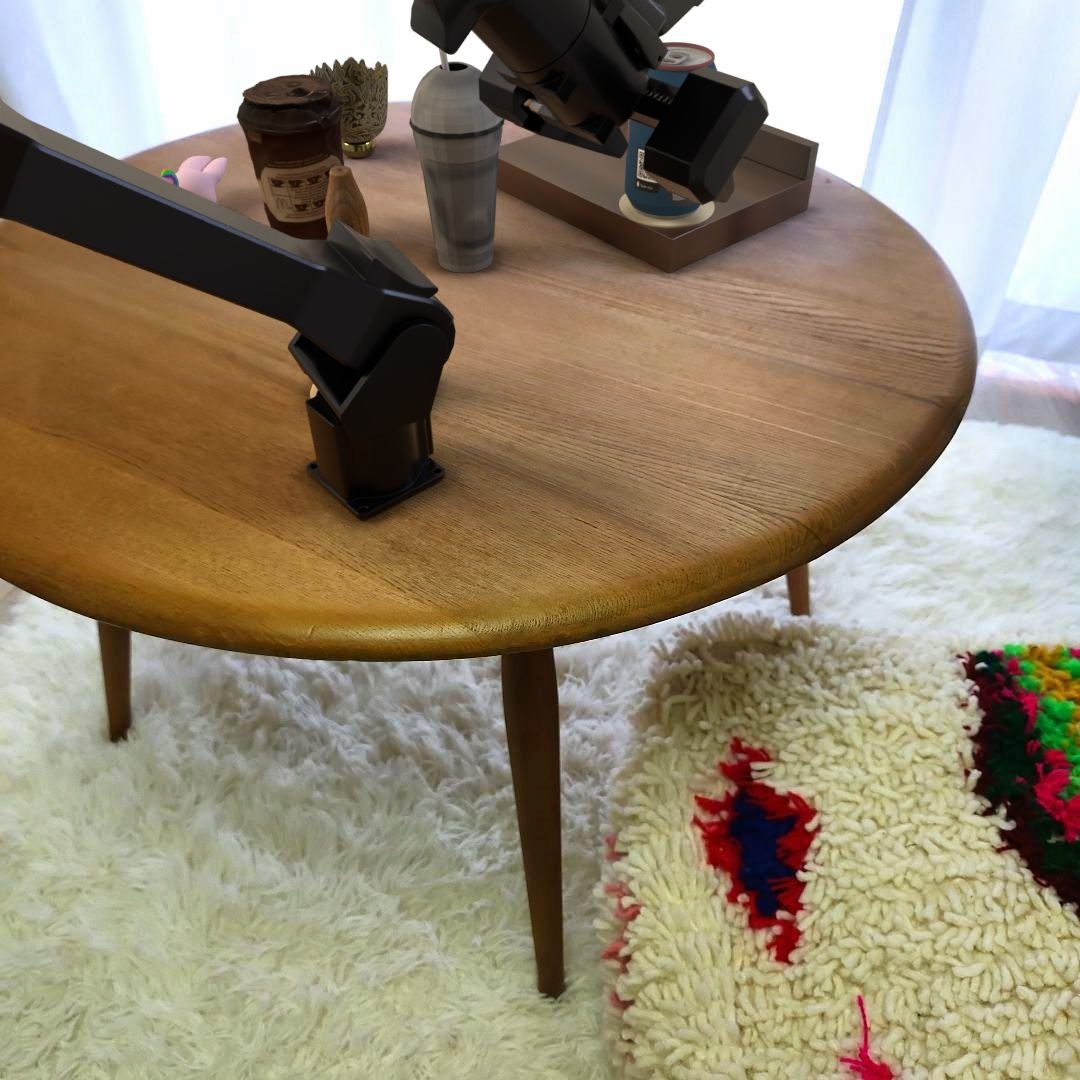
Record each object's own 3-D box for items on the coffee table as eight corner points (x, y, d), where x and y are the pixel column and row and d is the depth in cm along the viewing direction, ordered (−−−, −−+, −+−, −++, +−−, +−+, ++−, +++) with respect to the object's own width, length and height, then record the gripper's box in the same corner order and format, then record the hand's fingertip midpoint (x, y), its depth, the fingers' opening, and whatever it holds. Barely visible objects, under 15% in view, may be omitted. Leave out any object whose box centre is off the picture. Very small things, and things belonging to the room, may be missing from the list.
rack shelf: (669, 273, 84) (675, 203, 80) (485, 182, 97) (482, 118, 93) (807, 209, 93) (819, 143, 88) (621, 134, 106) (624, 73, 102)
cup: (411, 148, 103) (403, 64, 98) (364, 173, 99) (353, 88, 94) (354, 133, 106) (343, 52, 101) (306, 157, 102) (292, 73, 96)
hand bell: (454, 393, 71) (438, 168, 61) (357, 443, 67) (320, 210, 56) (382, 347, 76) (355, 129, 65) (287, 391, 72) (241, 166, 61)
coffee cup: (373, 257, 86) (353, 98, 77) (275, 275, 84) (242, 114, 75) (348, 215, 92) (327, 63, 83) (255, 231, 90) (224, 76, 81)
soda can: (651, 180, 90) (661, 33, 82) (721, 200, 87) (739, 49, 78) (607, 209, 85) (613, 57, 77) (680, 230, 82) (694, 74, 74)
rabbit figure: (192, 276, 87) (254, 176, 96) (170, 215, 82) (236, 116, 91) (124, 270, 88) (191, 172, 97) (97, 209, 83) (171, 112, 92)
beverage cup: (498, 284, 83) (487, 16, 69) (411, 276, 84) (384, 10, 70) (517, 243, 88) (511, -14, 74) (435, 236, 89) (414, -18, 76)
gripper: (772, -94, 46) (867, 98, 59) (509, -148, 57) (638, 25, 70) (639, 125, 48) (760, 266, 61) (407, 34, 58) (551, 171, 71)
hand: (673, 172), depth 66 cm, fingers open, 9 cm apart
